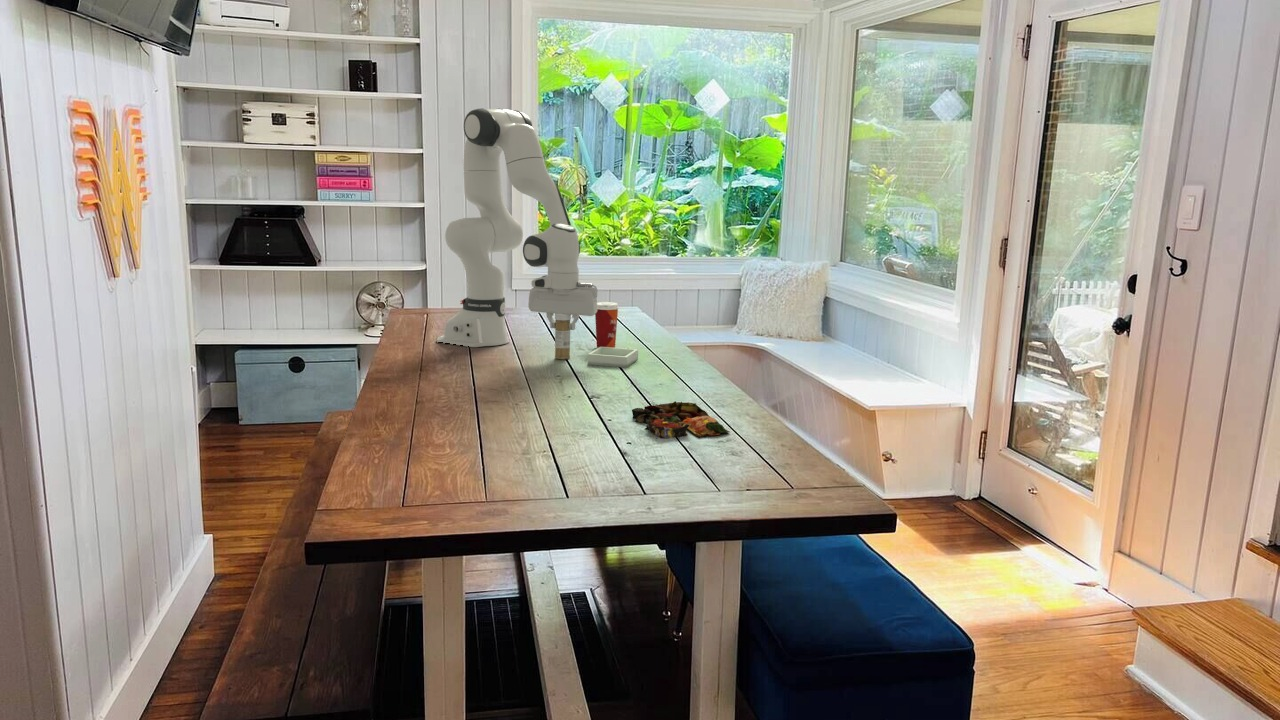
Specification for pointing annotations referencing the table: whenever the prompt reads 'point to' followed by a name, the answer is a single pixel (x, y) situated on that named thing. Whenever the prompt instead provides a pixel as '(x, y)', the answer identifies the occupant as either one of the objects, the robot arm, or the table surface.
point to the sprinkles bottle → (562, 336)
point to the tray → (613, 357)
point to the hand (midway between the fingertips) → (562, 328)
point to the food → (677, 420)
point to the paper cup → (606, 324)
